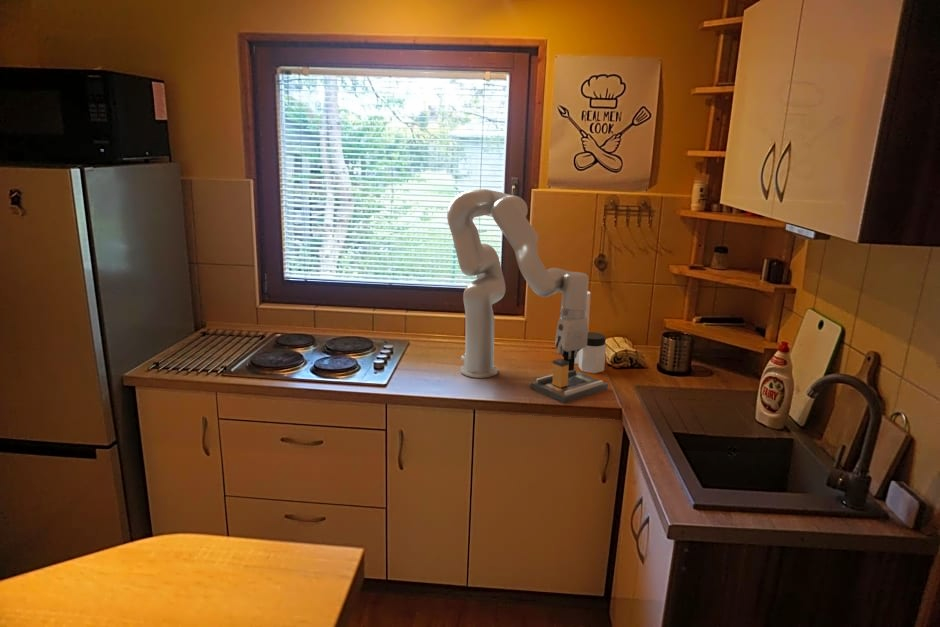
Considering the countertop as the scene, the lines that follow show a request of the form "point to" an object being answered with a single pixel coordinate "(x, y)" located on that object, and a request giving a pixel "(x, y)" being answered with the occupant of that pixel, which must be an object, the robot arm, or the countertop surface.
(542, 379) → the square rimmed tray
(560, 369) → the lever
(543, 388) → the panel
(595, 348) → the jar
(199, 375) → the countertop surface
